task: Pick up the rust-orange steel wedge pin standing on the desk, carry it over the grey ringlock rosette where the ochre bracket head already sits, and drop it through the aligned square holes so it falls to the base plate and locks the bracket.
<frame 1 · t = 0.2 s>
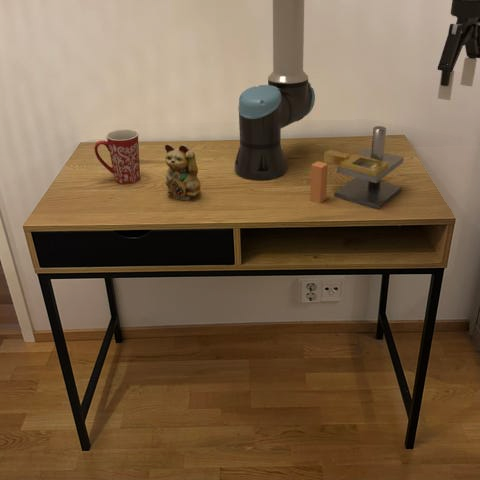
hand: (455, 92, 141), 28 cm above the table, fingers open, 13 cm apart
decorative figurine: (185, 195, 160), on the table
mug: (121, 179, 170), on the table
wedge pin: (318, 199, 155), on the table
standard: (373, 189, 159), on the table
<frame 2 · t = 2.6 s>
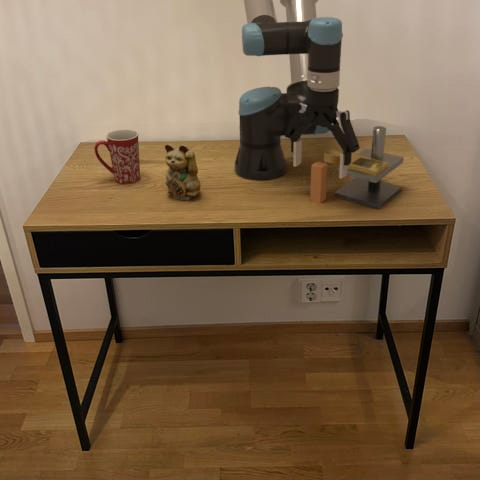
hand: (319, 170, 150), 8 cm above the table, fingers open, 13 cm apart
nothing on the table moved.
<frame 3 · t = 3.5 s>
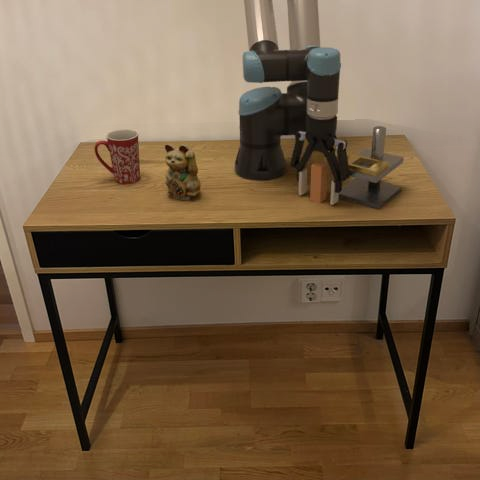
hand: (318, 197, 155), 0 cm above the table, fingers open, 9 cm apart
nothing on the table moved.
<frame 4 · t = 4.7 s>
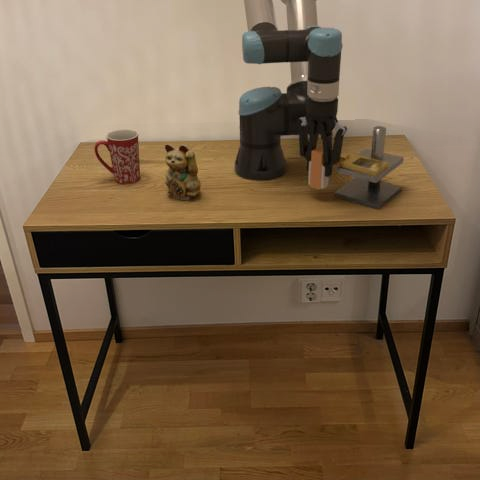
hand: (318, 184, 154), 4 cm above the table, fingers closed on wedge pin, 3 cm apart
wedge pin: (318, 185, 154), point 4 cm above the table, touching gripper
everything else where it was.
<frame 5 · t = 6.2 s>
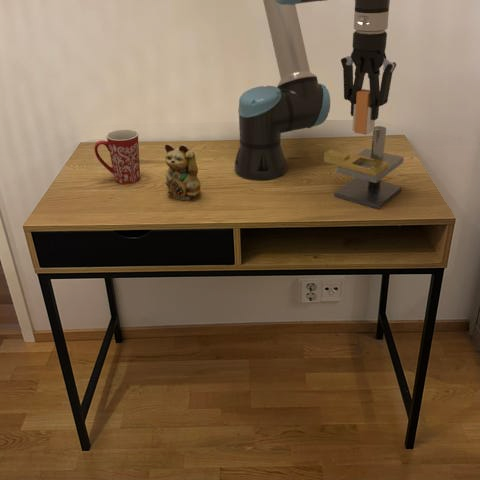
hand: (363, 130, 145), 19 cm above the table, fingers closed on wedge pin, 3 cm apart
wedge pin: (362, 131, 145), point 19 cm above the table, touching gripper
everything else where it was.
when the fingers open (11 cm above the table, at t = 7.8 s): wedge pin drops 9 cm, resting on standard.
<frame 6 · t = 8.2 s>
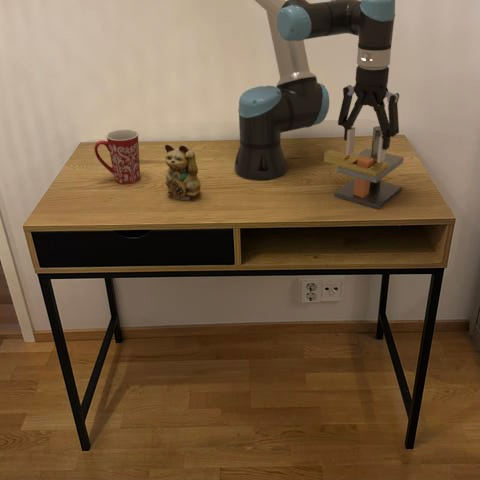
hand: (365, 156, 149), 12 cm above the table, fingers open, 8 cm apart
wedge pin: (360, 194, 154), point 1 cm above the table, touching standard
everything else where it was.
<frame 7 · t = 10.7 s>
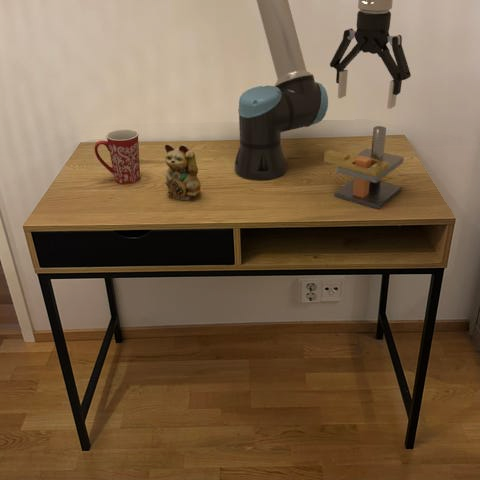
hand: (365, 102, 145), 25 cm above the table, fingers open, 13 cm apart
nothing on the table moved.
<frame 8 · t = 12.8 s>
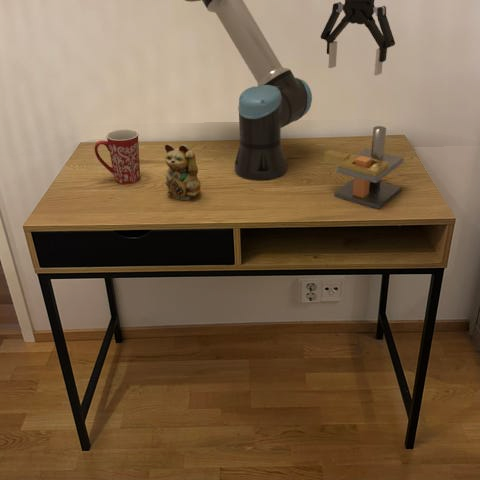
hand: (354, 70, 156), 29 cm above the table, fingers open, 13 cm apart
nothing on the table moved.
at the end: wedge pin 0.3 cm from the target spot on the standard, point 1.2 cm above the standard's base; wedge pin tilted 0° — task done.
